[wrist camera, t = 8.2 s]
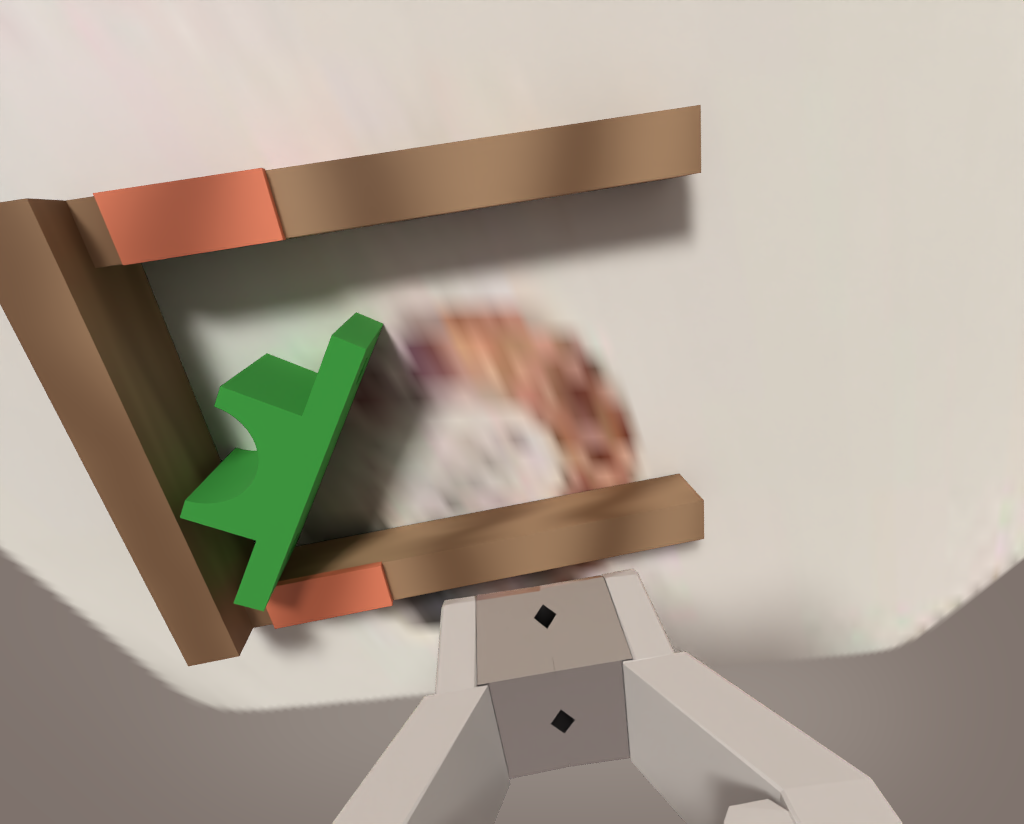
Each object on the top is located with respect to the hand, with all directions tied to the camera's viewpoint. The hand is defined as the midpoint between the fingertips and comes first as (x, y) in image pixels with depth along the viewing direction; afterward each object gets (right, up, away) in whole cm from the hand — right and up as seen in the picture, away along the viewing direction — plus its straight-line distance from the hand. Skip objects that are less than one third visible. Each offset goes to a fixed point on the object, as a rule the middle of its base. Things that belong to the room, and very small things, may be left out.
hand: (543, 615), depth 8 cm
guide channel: (-4, +4, +13) cm, 14 cm away
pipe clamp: (-10, +3, +14) cm, 17 cm away
